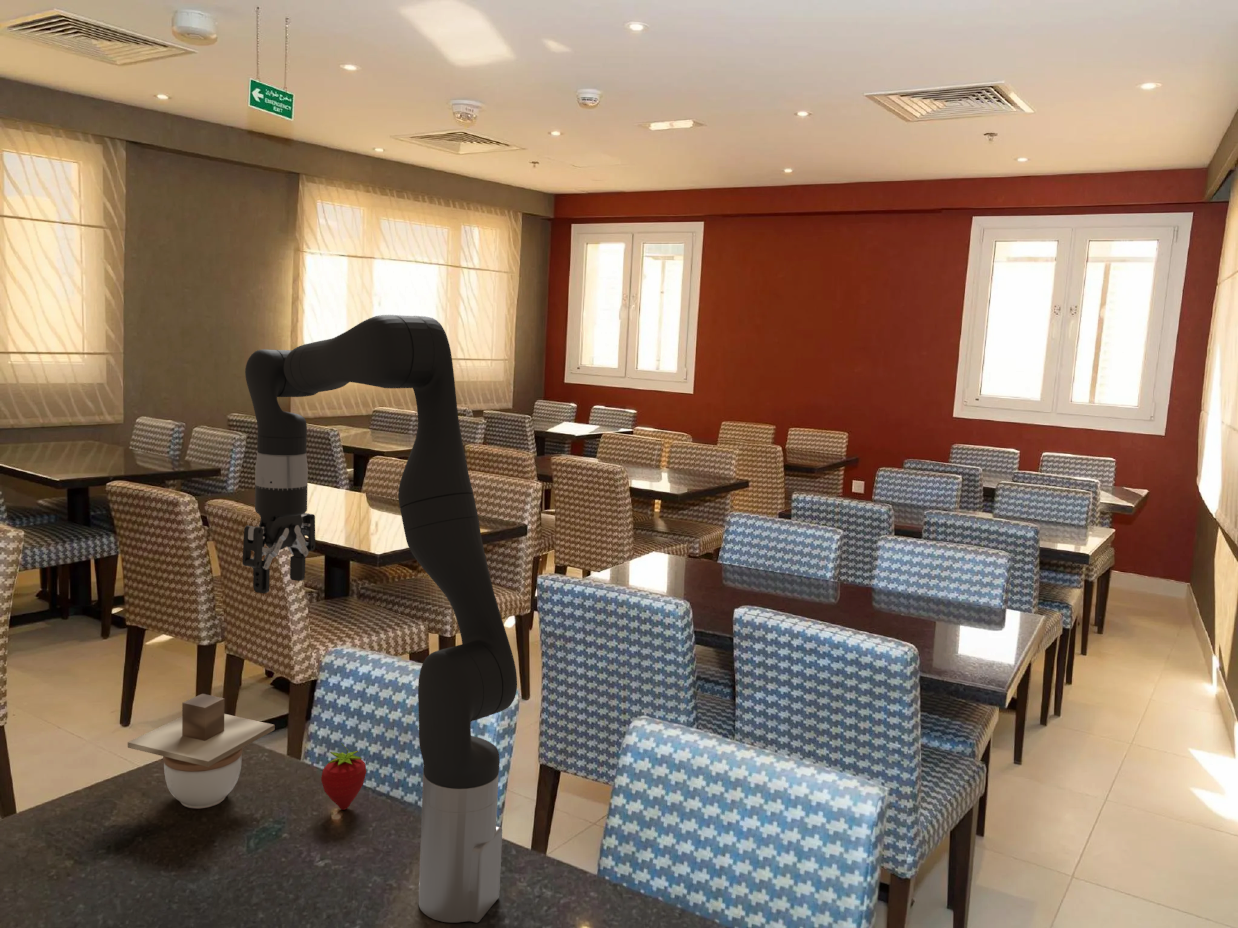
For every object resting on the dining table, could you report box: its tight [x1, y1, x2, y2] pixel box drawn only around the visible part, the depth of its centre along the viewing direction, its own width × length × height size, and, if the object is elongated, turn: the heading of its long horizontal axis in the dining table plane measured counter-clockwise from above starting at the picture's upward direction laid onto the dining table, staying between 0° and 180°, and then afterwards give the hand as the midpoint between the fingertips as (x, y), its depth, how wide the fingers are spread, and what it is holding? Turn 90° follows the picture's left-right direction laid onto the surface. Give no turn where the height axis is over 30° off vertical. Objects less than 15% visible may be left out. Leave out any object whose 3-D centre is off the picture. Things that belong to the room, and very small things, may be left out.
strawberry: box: [320, 742, 367, 810], centre depth 142 cm, size 6×8×10 cm
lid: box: [127, 693, 276, 767], centre depth 142 cm, size 14×14×6 cm
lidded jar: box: [162, 748, 243, 809], centre depth 143 cm, size 11×11×9 cm
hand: (280, 585), depth 149 cm, fingers open, 8 cm apart
